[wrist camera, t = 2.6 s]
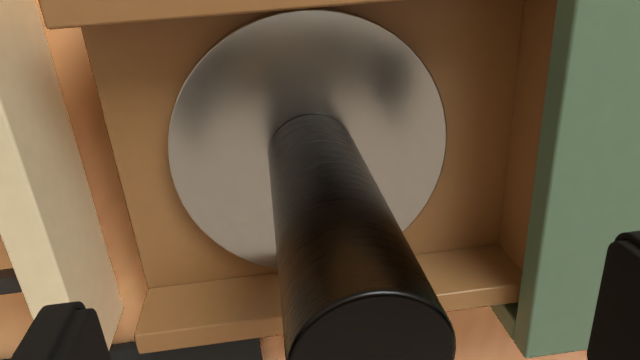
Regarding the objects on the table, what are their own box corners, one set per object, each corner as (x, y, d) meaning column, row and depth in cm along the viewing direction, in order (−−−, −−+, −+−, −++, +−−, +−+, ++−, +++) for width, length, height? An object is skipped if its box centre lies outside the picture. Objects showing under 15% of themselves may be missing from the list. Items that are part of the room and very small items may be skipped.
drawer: (-26, 327, 19) (-86, 411, 16) (-187, -28, 14) (-332, -19, 10) (501, 259, 21) (551, 321, 18) (537, -79, 16) (619, -85, 12)
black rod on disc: (142, 19, 14) (-16, 127, 6) (447, -6, 15) (705, 57, 7) (195, 277, 18) (146, 573, 10) (436, 246, 19) (591, 496, 10)
